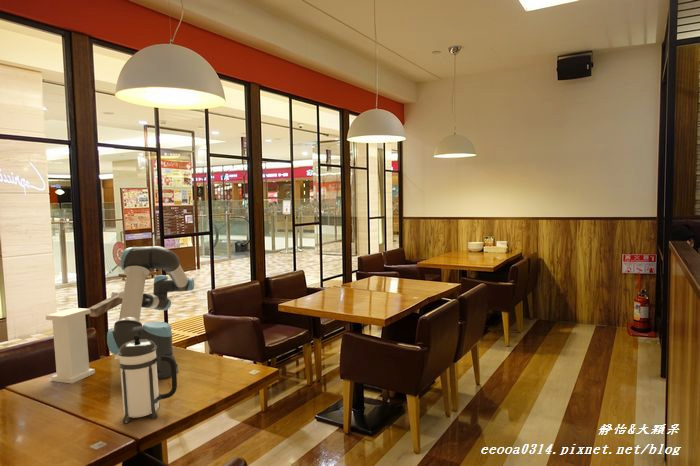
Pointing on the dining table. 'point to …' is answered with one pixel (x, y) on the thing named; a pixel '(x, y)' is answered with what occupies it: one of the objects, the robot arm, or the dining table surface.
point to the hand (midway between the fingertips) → (115, 295)
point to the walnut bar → (105, 305)
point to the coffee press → (142, 378)
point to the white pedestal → (70, 345)
